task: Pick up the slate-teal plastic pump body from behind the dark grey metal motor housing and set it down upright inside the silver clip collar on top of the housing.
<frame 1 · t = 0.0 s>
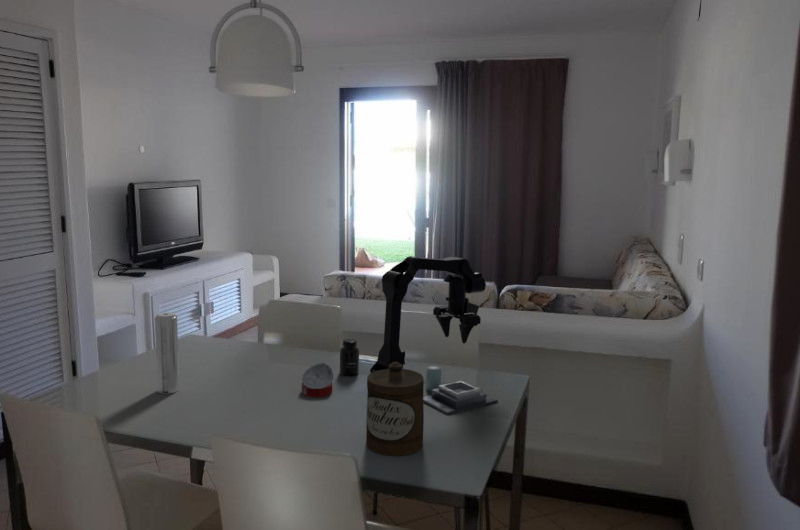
hand: (455, 340, 207), 15 cm above the table, tool pointing down, fingers open, 9 cm apart
canned food: (317, 392, 196), on the table
wooden container: (394, 444, 160), on the table
supplement bottle: (349, 373, 215), on the table
motor housing: (458, 401, 191), on the table
silver metal cylinder: (168, 391, 194), on the table
pump body: (433, 388, 201), on the table
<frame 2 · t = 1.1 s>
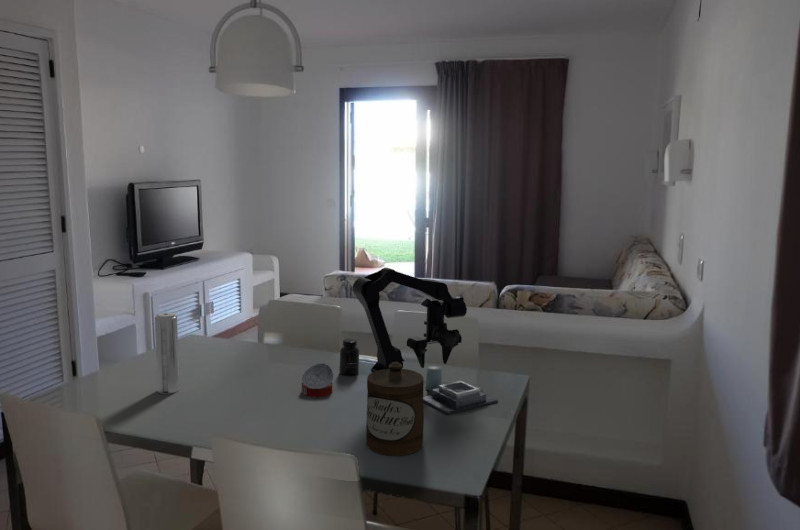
hand: (433, 365, 200), 8 cm above the table, tool pointing down, fingers open, 9 cm apart
nothing on the table moved.
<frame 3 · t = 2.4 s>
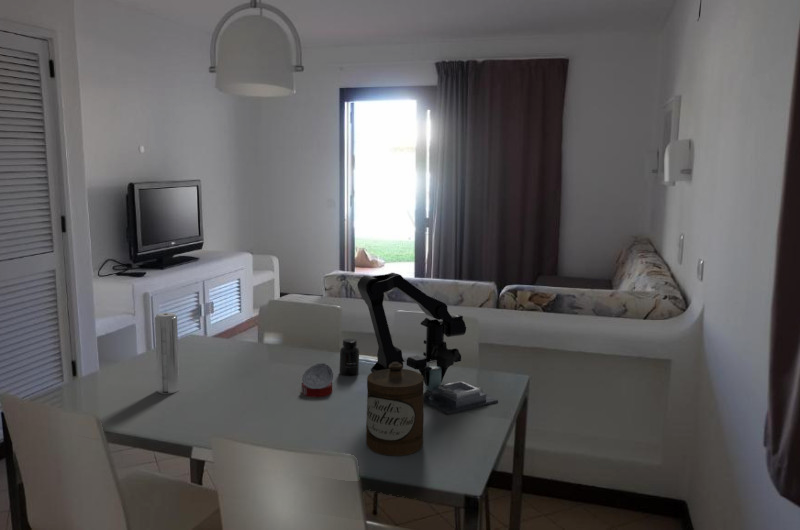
hand: (433, 384, 201), 2 cm above the table, tool pointing down, fingers closed on pump body, 5 cm apart
pump body: (433, 388, 201), on the table, touching gripper
everything else where it was.
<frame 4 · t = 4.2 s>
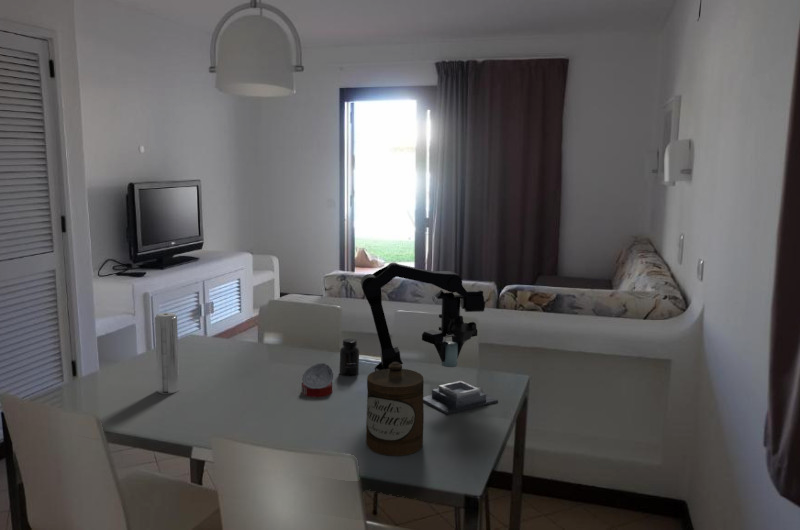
hand: (449, 360, 194), 12 cm above the table, tool pointing down, fingers closed on pump body, 5 cm apart
pump body: (449, 364, 194), point 10 cm above the table, touching gripper
everything else where it was.
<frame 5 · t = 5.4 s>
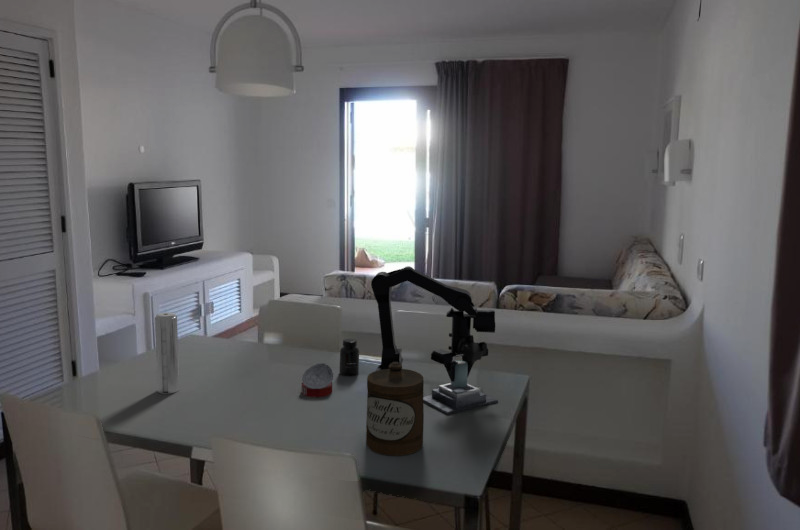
hand: (459, 379, 190), 7 cm above the table, tool pointing down, fingers closed on pump body, 5 cm apart
pump body: (458, 384, 190), point 5 cm above the table, touching gripper
everything else where it was.
when the fingers open (6 cm above the table, at t = 6.2 s): pump body drops 2 cm, resting on motor housing.
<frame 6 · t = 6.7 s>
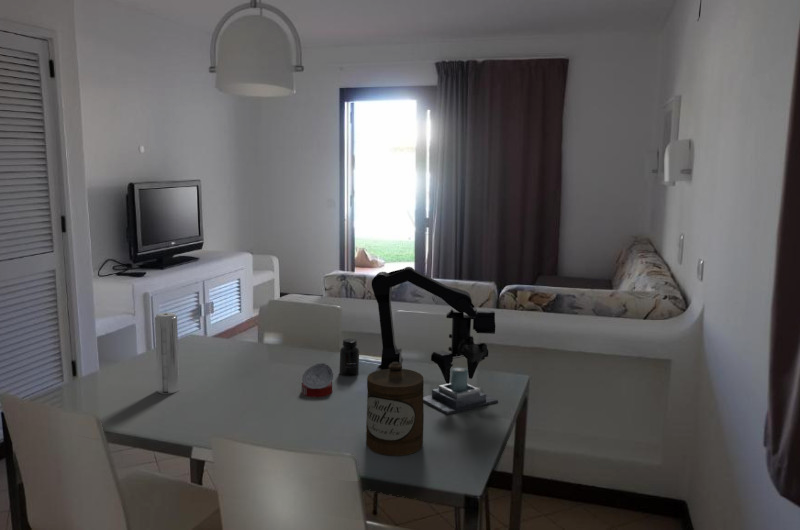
hand: (459, 381, 190), 6 cm above the table, tool pointing down, fingers open, 9 cm apart
pump body: (458, 391, 190), point 3 cm above the table, touching motor housing
everything else where it was.
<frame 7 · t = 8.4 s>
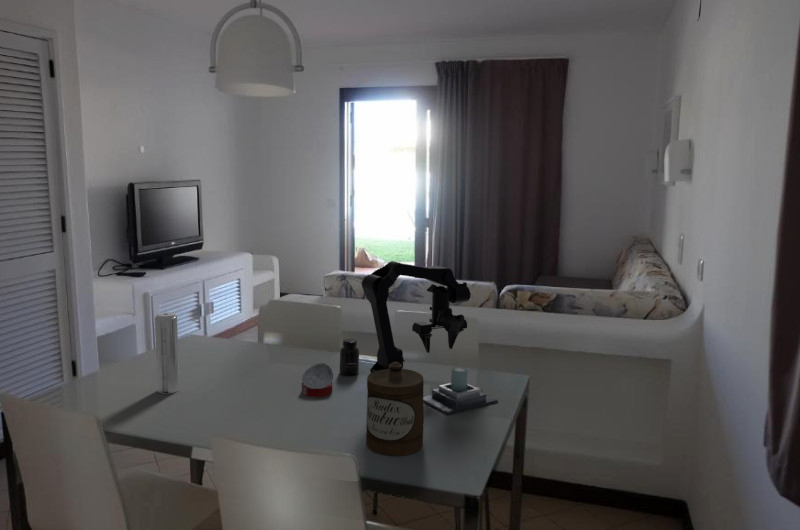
hand: (439, 350, 203), 12 cm above the table, tool pointing down, fingers open, 9 cm apart
nothing on the table moved.
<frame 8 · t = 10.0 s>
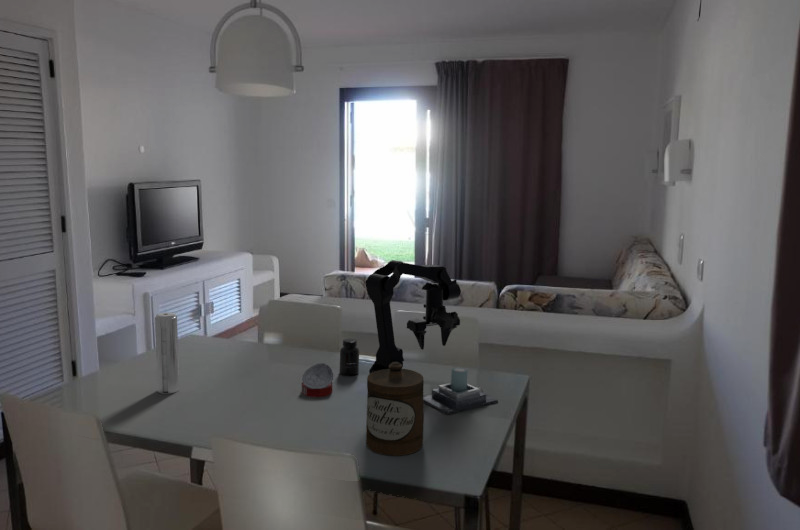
hand: (433, 347, 207), 12 cm above the table, tool pointing down, fingers open, 9 cm apart
nothing on the table moved.
at the end: pump body 0.0 cm off-centre on the motor housing, point 3.0 cm above the motor housing's base; pump body tilted 0°; the gripper is holding nothing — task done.
